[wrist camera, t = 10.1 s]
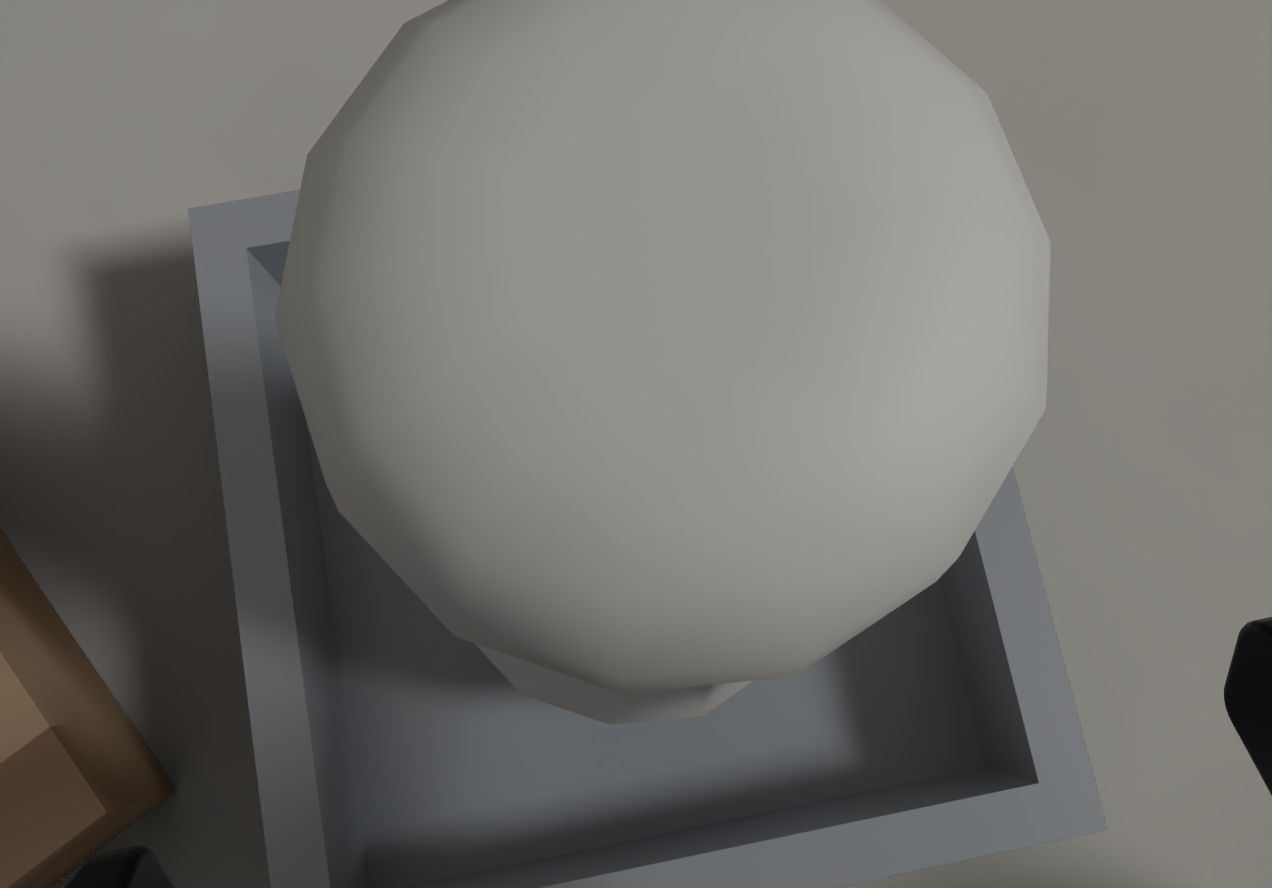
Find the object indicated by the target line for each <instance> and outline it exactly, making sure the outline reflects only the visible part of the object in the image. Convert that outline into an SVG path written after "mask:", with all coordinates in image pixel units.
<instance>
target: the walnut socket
mask: <svg viewBox="0 0 1272 888" xmlns="http://www.w3.org/2000/svg"><path fill="white" fill-rule="evenodd" d="M176 790H177V789H176V788H175V786H174V785H173V783H172V782H171V780H170V779H169V778H168V776H167V775H166V773H165V772H164V770H163V769H162V767H161V766H160V764H159V763H158V761H157V760H156V758H155V757H154V755H153V754H152V753H151V751H150V750H149V748H148V747H147V745H146V744H145V742H144V741H143V739H142V738H141V736H140V735H139V733H138V732H137V730H136V729H135V727H134V726H133V725H132V723H131V722H130V720H129V719H128V717H127V716H126V714H125V713H124V711H123V710H122V708H121V707H120V705H119V704H118V702H117V701H116V700H115V698H114V697H113V695H112V694H111V692H110V691H109V689H108V688H107V686H106V685H105V683H104V682H103V680H102V679H101V677H100V676H99V675H98V673H97V672H96V670H95V669H94V667H93V666H92V664H91V663H90V661H89V660H88V658H87V657H86V655H85V654H84V652H83V651H82V649H81V648H80V647H79V645H78V644H77V642H76V641H75V639H74V638H73V636H72V635H71V633H70V632H69V630H68V629H67V627H66V626H65V624H64V623H63V622H62V620H61V619H60V617H59V616H58V614H57V613H56V611H55V610H54V608H53V607H52V605H51V604H50V602H49V601H48V599H47V598H46V596H45V595H44V594H43V592H42V591H41V589H40V588H39V586H38V585H37V583H36V582H35V580H34V579H33V577H32V576H31V574H30V573H29V571H28V570H27V569H26V567H25V566H24V564H23V563H22V561H21V560H20V558H19V557H18V555H17V554H16V552H15V551H14V549H13V548H12V546H11V545H10V544H9V542H8V541H7V539H6V538H5V536H4V535H3V533H2V532H1V530H0V888H48V887H50V886H51V885H52V884H54V883H55V882H56V881H58V880H59V879H60V878H61V877H63V876H64V875H65V874H67V873H68V872H69V871H71V870H72V869H73V868H75V867H76V866H77V865H79V864H80V863H81V862H82V861H84V860H85V859H86V858H88V857H89V856H90V855H92V854H93V853H94V852H96V851H97V850H98V849H100V848H101V847H102V846H103V845H105V844H106V843H107V842H109V841H110V840H111V839H113V838H114V837H115V836H117V835H118V834H119V833H120V832H122V831H123V830H124V829H126V828H127V827H128V826H130V825H131V824H132V823H134V822H135V821H136V820H138V819H139V818H140V817H141V816H143V815H144V814H145V813H147V812H148V811H149V810H151V809H152V808H153V807H155V806H156V805H157V804H159V803H160V802H161V801H162V800H164V799H165V798H166V797H168V796H169V795H170V794H172V793H173V792H174V791H176Z"/></svg>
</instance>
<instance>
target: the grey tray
mask: <svg viewBox="0 0 1272 888" xmlns="http://www.w3.org/2000/svg"><path fill="white" fill-rule="evenodd" d="M299 194H300V190H297V191H291V192H285V193H279V194H273V195H267V196H261V197H255V198H249V199H243V200H237V201H231V202H225V203H219V204H213V205H207V206H201V207H195V208H189V209H188V213H189V221H190V230H191V238H192V246H193V254H194V263H195V271H196V279H197V287H198V295H199V304H200V312H201V320H202V328H203V337H204V345H205V353H206V361H207V370H208V378H209V386H210V394H211V402H212V411H213V419H214V427H215V435H216V444H217V452H218V460H219V468H220V476H221V485H222V493H223V501H224V509H225V518H226V526H227V534H228V542H229V551H230V559H231V567H232V575H233V583H234V592H235V600H236V608H237V616H238V625H239V633H240V641H241V649H242V658H243V666H244V674H245V682H246V690H247V699H248V707H249V715H250V723H251V732H252V740H253V748H254V756H255V765H256V773H257V781H258V789H259V797H260V806H261V814H262V822H263V830H264V839H265V847H266V855H267V863H268V872H269V880H270V888H837V887H842V886H847V885H851V884H856V883H861V882H865V881H870V880H875V879H879V878H884V877H889V876H894V875H898V874H903V873H908V872H912V871H917V870H922V869H926V868H931V867H936V866H940V865H945V864H950V863H954V862H959V861H964V860H969V859H973V858H978V857H983V856H987V855H992V854H997V853H1001V852H1006V851H1011V850H1015V849H1020V848H1025V847H1029V846H1034V845H1039V844H1044V843H1048V842H1053V841H1058V840H1062V839H1067V838H1072V837H1076V836H1081V835H1086V834H1090V833H1095V832H1100V831H1104V830H1108V828H1107V824H1106V820H1105V816H1104V812H1103V809H1102V805H1101V801H1100V797H1099V794H1098V790H1097V786H1096V782H1095V778H1094V775H1093V771H1092V767H1091V763H1090V759H1089V756H1088V752H1087V748H1086V744H1085V740H1084V737H1083V733H1082V729H1081V725H1080V721H1079V718H1078V714H1077V710H1076V706H1075V702H1074V699H1073V695H1072V691H1071V687H1070V683H1069V680H1068V676H1067V672H1066V668H1065V664H1064V661H1063V657H1062V653H1061V649H1060V645H1059V642H1058V638H1057V634H1056V630H1055V626H1054V623H1053V619H1052V615H1051V611H1050V607H1049V604H1048V600H1047V596H1046V592H1045V588H1044V585H1043V581H1042V577H1041V573H1040V569H1039V566H1038V562H1037V558H1036V554H1035V550H1034V547H1033V543H1032V539H1031V535H1030V532H1029V528H1028V524H1027V520H1026V516H1025V513H1024V509H1023V505H1022V501H1021V497H1020V494H1019V490H1018V486H1017V482H1016V478H1015V475H1014V471H1013V467H1012V468H1011V469H1010V471H1009V473H1008V474H1007V476H1006V478H1005V480H1004V481H1003V483H1002V485H1001V486H1000V488H999V490H998V492H997V493H996V495H995V497H994V498H993V500H992V502H991V503H990V505H989V507H988V509H987V510H986V512H985V514H984V515H983V517H982V519H981V521H980V522H979V524H978V526H977V527H976V529H975V531H974V533H973V534H972V536H971V538H970V539H969V541H968V543H967V544H966V546H965V548H964V550H963V551H962V553H961V555H960V556H959V558H958V559H957V560H956V561H955V562H954V563H953V564H952V565H951V566H950V567H949V568H948V570H947V571H946V572H945V573H944V574H943V575H942V576H941V577H940V578H939V579H938V580H937V581H936V582H935V583H933V584H932V585H930V586H929V587H927V588H926V589H924V590H923V591H921V592H920V593H918V594H917V595H915V596H914V597H912V598H911V599H910V600H908V601H907V602H905V603H904V604H902V605H901V606H899V607H898V608H896V609H895V610H893V611H892V612H890V613H889V614H887V615H886V616H884V617H883V618H881V619H880V620H878V621H877V622H875V623H874V624H872V625H871V626H869V627H868V628H866V629H865V630H863V631H862V632H860V633H859V634H857V635H856V636H854V637H853V638H851V639H850V640H848V641H847V642H845V643H844V644H842V645H841V646H839V647H838V648H837V649H835V650H834V651H832V652H831V653H829V654H828V655H826V656H825V657H823V658H822V659H820V660H819V661H817V662H816V663H814V664H813V665H811V666H810V667H808V668H807V669H805V670H804V671H802V672H801V673H799V674H798V675H796V676H794V677H784V678H774V679H764V680H754V681H753V682H751V683H750V684H748V685H747V686H746V687H744V688H743V689H741V690H740V691H738V692H737V693H735V694H734V695H732V696H731V697H730V698H728V699H727V700H725V701H724V702H722V703H721V704H719V705H718V706H716V707H715V708H713V709H712V710H711V711H709V712H708V713H706V714H705V715H703V716H697V717H686V718H676V719H665V720H654V721H643V722H633V723H622V724H611V725H609V724H606V723H603V722H600V721H597V720H594V719H591V718H588V717H585V716H582V715H579V714H577V713H574V712H571V711H568V710H565V709H562V708H559V707H556V706H553V705H550V704H547V703H545V702H542V701H539V700H536V699H533V698H530V697H527V696H524V695H522V694H521V693H520V692H519V691H518V690H517V689H516V688H515V687H514V686H513V685H512V684H511V683H510V681H509V680H508V679H507V678H506V677H505V676H504V675H503V674H502V673H501V672H500V671H499V670H498V668H497V667H496V666H495V665H494V664H493V663H492V662H491V661H490V660H489V659H488V658H487V657H486V656H485V654H484V653H483V652H482V651H481V650H480V649H479V648H478V647H477V646H476V645H475V644H474V643H472V642H470V641H467V640H464V639H461V638H458V637H455V636H454V635H453V634H452V633H451V632H450V631H449V630H448V629H447V628H446V627H445V626H444V624H443V623H442V622H441V621H440V620H439V619H438V618H437V617H436V616H435V615H434V614H433V613H432V611H431V610H430V609H429V608H428V607H427V606H426V605H425V604H424V603H423V602H422V601H421V600H420V599H419V597H418V596H417V595H416V594H415V593H414V592H413V591H412V590H411V589H410V588H409V587H408V586H407V584H406V583H405V582H404V581H403V580H402V579H401V578H400V577H399V576H398V575H397V574H396V573H395V572H394V570H393V569H392V568H391V567H390V566H389V565H388V564H387V563H386V562H385V561H384V560H383V559H382V557H381V556H380V555H379V554H378V553H377V552H376V551H375V550H374V549H373V548H372V547H371V546H370V545H369V543H368V542H367V541H366V540H365V539H364V538H363V537H362V536H361V535H360V534H359V533H358V532H357V531H356V529H355V528H354V527H353V526H352V525H351V524H350V523H349V522H348V521H347V520H346V519H345V518H344V516H343V515H342V514H341V513H340V512H339V511H338V509H337V507H336V505H335V502H334V500H333V498H332V496H331V494H330V491H329V489H328V487H327V485H326V482H325V479H324V476H323V473H322V470H321V466H320V463H319V460H318V457H317V453H316V450H315V447H314V444H313V440H312V437H311V434H310V431H309V428H308V424H307V421H306V418H305V415H304V411H303V408H302V405H301V402H300V398H299V395H298V392H297V389H296V385H295V382H294V379H293V376H292V373H291V369H290V366H289V363H288V360H287V356H286V353H285V350H284V347H283V343H282V340H281V337H280V334H279V331H278V327H277V324H276V321H275V318H274V317H275V312H276V307H277V302H278V297H279V292H280V287H281V282H282V278H283V273H284V268H285V263H286V258H287V253H288V248H289V243H290V238H291V233H292V228H293V223H294V218H295V213H296V209H297V204H298V199H299Z"/></svg>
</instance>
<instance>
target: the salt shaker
mask: <svg viewBox="0 0 1272 888" xmlns="http://www.w3.org/2000/svg"><path fill="white" fill-rule="evenodd" d="M1050 253H1051V242H1050V240H1049V238H1048V235H1047V233H1046V230H1045V228H1044V226H1043V223H1042V221H1041V219H1040V216H1039V214H1038V212H1037V209H1036V207H1035V205H1034V202H1033V200H1032V198H1031V195H1030V193H1029V191H1028V188H1027V186H1026V184H1025V181H1024V179H1023V177H1022V174H1021V172H1020V170H1019V167H1018V165H1017V163H1016V160H1015V158H1014V156H1013V153H1012V151H1011V149H1010V146H1009V144H1008V142H1007V139H1006V137H1005V134H1004V132H1003V130H1002V127H1001V125H1000V123H999V120H998V118H997V116H996V113H995V111H994V109H993V106H992V104H991V102H990V99H989V97H988V95H987V93H986V92H985V91H984V90H983V89H982V88H980V87H979V86H978V85H977V84H976V83H975V82H973V81H972V80H971V79H970V78H969V77H968V76H967V75H965V74H964V73H963V72H962V71H961V70H960V69H958V68H957V67H956V66H955V65H954V64H953V63H952V62H950V61H949V60H948V59H947V58H946V57H945V56H944V55H942V54H941V53H940V52H939V51H938V50H937V49H935V48H934V47H933V46H932V45H931V44H930V43H929V42H927V41H926V40H925V39H924V38H923V37H922V36H920V35H919V34H918V33H917V32H916V31H915V30H914V29H912V28H911V27H910V26H909V25H908V24H907V23H905V22H904V21H903V20H902V19H901V18H900V17H899V16H897V15H896V14H895V13H894V12H893V11H892V10H891V9H889V8H888V7H887V6H886V5H885V4H884V3H882V2H881V1H880V0H448V1H446V2H445V3H443V4H441V5H439V6H437V7H435V8H433V9H431V10H429V11H427V12H425V13H423V14H421V15H420V16H418V17H416V18H414V19H412V20H410V21H408V22H406V23H404V24H403V26H402V27H401V28H400V30H399V31H398V32H397V34H396V35H395V36H394V38H393V39H392V41H391V42H390V43H389V45H388V46H387V47H386V49H385V50H384V51H383V53H382V54H381V55H380V57H379V58H378V59H377V61H376V62H375V64H374V65H373V66H372V68H371V69H370V70H369V72H368V73H367V74H366V76H365V77H364V78H363V80H362V81H361V83H360V84H359V85H358V87H357V88H356V89H355V91H354V92H353V93H352V95H351V96H350V97H349V99H348V100H347V102H346V103H345V104H344V106H343V107H342V108H341V110H340V111H339V112H338V114H337V115H336V116H335V118H334V119H333V121H332V122H331V123H330V125H329V126H328V127H327V129H326V130H325V131H324V133H323V134H322V135H321V137H320V138H319V139H318V141H317V142H316V144H315V145H314V146H313V148H312V149H311V150H310V152H309V153H308V154H307V159H306V164H305V169H304V174H303V179H302V184H301V189H300V194H299V199H298V204H297V209H296V213H295V218H294V223H293V228H292V233H291V238H290V243H289V248H288V253H287V258H286V263H285V268H284V273H283V278H282V282H281V287H280V292H279V297H278V302H277V307H276V312H275V317H274V318H275V321H276V324H277V327H278V331H279V334H280V337H281V340H282V343H283V347H284V350H285V353H286V356H287V360H288V363H289V366H290V369H291V373H292V376H293V379H294V382H295V385H296V389H297V392H298V395H299V398H300V402H301V405H302V408H303V411H304V415H305V418H306V421H307V424H308V428H309V431H310V434H311V437H312V440H313V444H314V447H315V450H316V453H317V457H318V460H319V463H320V466H321V470H322V473H323V476H324V479H325V482H326V485H327V487H328V489H329V491H330V494H331V496H332V498H333V500H334V502H335V505H336V507H337V509H338V511H339V512H340V513H341V514H342V515H343V516H344V518H345V519H346V520H347V521H348V522H349V523H350V524H351V525H352V526H353V527H354V528H355V529H356V531H357V532H358V533H359V534H360V535H361V536H362V537H363V538H364V539H365V540H366V541H367V542H368V543H369V545H370V546H371V547H372V548H373V549H374V550H375V551H376V552H377V553H378V554H379V555H380V556H381V557H382V559H383V560H384V561H385V562H386V563H387V564H388V565H389V566H390V567H391V568H392V569H393V570H394V572H395V573H396V574H397V575H398V576H399V577H400V578H401V579H402V580H403V581H404V582H405V583H406V584H407V586H408V587H409V588H410V589H411V590H412V591H413V592H414V593H415V594H416V595H417V596H418V597H419V599H420V600H421V601H422V602H423V603H424V604H425V605H426V606H427V607H428V608H429V609H430V610H431V611H432V613H433V614H434V615H435V616H436V617H437V618H438V619H439V620H440V621H441V622H442V623H443V624H444V626H445V627H446V628H447V629H448V630H449V631H450V632H451V633H452V634H453V635H454V636H455V637H458V638H461V639H464V640H467V641H470V642H472V643H474V644H475V645H476V646H477V647H478V648H479V649H480V650H481V651H482V652H483V653H484V654H485V656H486V657H487V658H488V659H489V660H490V661H491V662H492V663H493V664H494V665H495V666H496V667H497V668H498V670H499V671H500V672H501V673H502V674H503V675H504V676H505V677H506V678H507V679H508V680H509V681H510V683H511V684H512V685H513V686H514V687H515V688H516V689H517V690H518V691H519V692H520V693H521V694H522V695H524V696H527V697H530V698H533V699H536V700H539V701H542V702H545V703H547V704H550V705H553V706H556V707H559V708H562V709H565V710H568V711H571V712H574V713H577V714H579V715H582V716H585V717H588V718H591V719H594V720H597V721H600V722H603V723H606V724H609V725H611V724H622V723H633V722H643V721H654V720H665V719H676V718H686V717H697V716H703V715H705V714H706V713H708V712H709V711H711V710H712V709H713V708H715V707H716V706H718V705H719V704H721V703H722V702H724V701H725V700H727V699H728V698H730V697H731V696H732V695H734V694H735V693H737V692H738V691H740V690H741V689H743V688H744V687H746V686H747V685H748V684H750V683H751V682H753V681H754V680H764V679H774V678H784V677H794V676H796V675H798V674H799V673H801V672H802V671H804V670H805V669H807V668H808V667H810V666H811V665H813V664H814V663H816V662H817V661H819V660H820V659H822V658H823V657H825V656H826V655H828V654H829V653H831V652H832V651H834V650H835V649H837V648H838V647H839V646H841V645H842V644H844V643H845V642H847V641H848V640H850V639H851V638H853V637H854V636H856V635H857V634H859V633H860V632H862V631H863V630H865V629H866V628H868V627H869V626H871V625H872V624H874V623H875V622H877V621H878V620H880V619H881V618H883V617H884V616H886V615H887V614H889V613H890V612H892V611H893V610H895V609H896V608H898V607H899V606H901V605H902V604H904V603H905V602H907V601H908V600H910V599H911V598H912V597H914V596H915V595H917V594H918V593H920V592H921V591H923V590H924V589H926V588H927V587H929V586H930V585H932V584H933V583H935V582H936V581H937V580H938V579H939V578H940V577H941V576H942V575H943V574H944V573H945V572H946V571H947V570H948V568H949V567H950V566H951V565H952V564H953V563H954V562H955V561H956V560H957V559H958V558H959V556H960V555H961V553H962V551H963V550H964V548H965V546H966V544H967V543H968V541H969V539H970V538H971V536H972V534H973V533H974V531H975V529H976V527H977V526H978V524H979V522H980V521H981V519H982V517H983V515H984V514H985V512H986V510H987V509H988V507H989V505H990V503H991V502H992V500H993V498H994V497H995V495H996V493H997V492H998V490H999V488H1000V486H1001V485H1002V483H1003V481H1004V480H1005V478H1006V476H1007V474H1008V473H1009V471H1010V469H1011V468H1012V466H1013V464H1014V462H1015V461H1016V459H1017V457H1018V456H1019V454H1020V452H1021V451H1022V449H1023V447H1024V445H1025V444H1026V442H1027V440H1028V439H1029V437H1030V435H1031V433H1032V432H1033V430H1034V428H1035V427H1036V425H1037V423H1038V422H1039V420H1040V418H1041V416H1042V415H1043V413H1044V411H1045V410H1046V389H1047V355H1048V321H1049V287H1050Z"/></svg>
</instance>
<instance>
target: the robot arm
mask: <svg viewBox="0 0 1272 888" xmlns="http://www.w3.org/2000/svg"><path fill="white" fill-rule="evenodd" d="M1224 701H1225V706H1226V709H1227V712H1228V715H1229V717H1230V719H1231V722H1232V723H1233V725H1234V727H1235V729H1236V731H1237V733H1238V734H1239V736H1240V738H1241V740H1242V742H1243V744H1244V745H1245V747H1246V749H1247V751H1248V753H1249V755H1250V756H1251V758H1252V760H1253V762H1254V764H1255V766H1256V767H1257V769H1258V771H1259V773H1260V775H1261V777H1262V779H1263V780H1264V782H1265V784H1266V786H1267V788H1268V790H1269V791H1270V793H1271V795H1272V617H1270V618H1265V619H1260V620H1255V621H1251V622H1249V623H1247V624H1246V625H1245V626H1244V627H1243V628H1242V629H1241V631H1240V633H1239V635H1238V639H1237V643H1236V646H1235V650H1234V654H1233V657H1232V661H1231V665H1230V668H1229V672H1228V675H1227V679H1226V683H1225V687H1224ZM64 888H175V886H174V885H173V883H172V881H171V880H170V878H169V877H168V875H167V873H166V872H165V870H164V868H163V867H162V865H161V863H160V862H159V860H158V858H157V857H156V855H155V854H154V853H153V851H152V850H151V849H149V848H147V847H145V846H133V847H128V848H123V849H118V850H113V851H108V852H103V853H100V854H97V855H94V856H93V857H91V858H90V859H89V860H87V861H86V862H85V863H84V864H83V865H82V866H81V867H80V868H79V869H78V871H77V872H76V873H75V874H74V876H73V877H72V878H71V879H70V881H69V882H68V883H67V884H66V886H65V887H64Z"/></svg>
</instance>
